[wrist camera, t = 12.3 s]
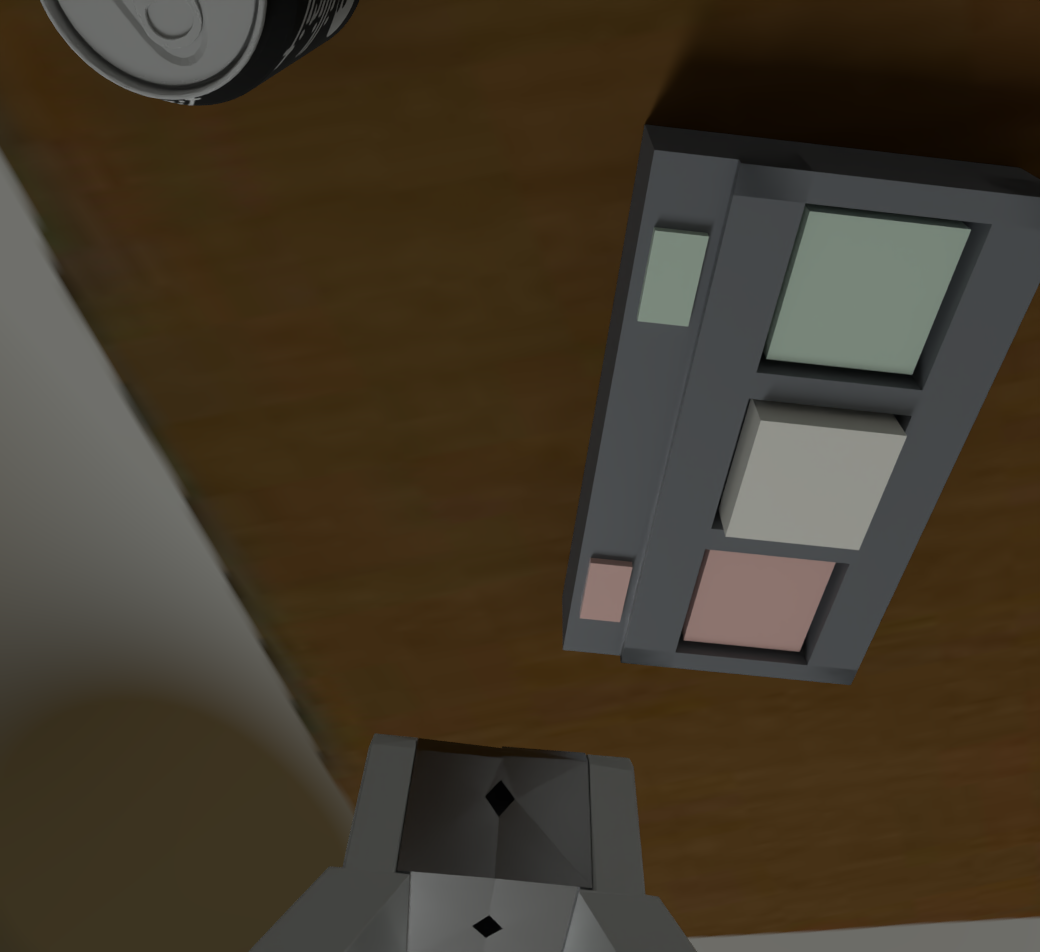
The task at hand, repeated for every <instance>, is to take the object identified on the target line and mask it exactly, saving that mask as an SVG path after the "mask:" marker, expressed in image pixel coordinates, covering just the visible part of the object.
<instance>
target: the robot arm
mask: <svg viewBox="0 0 1040 952" xmlns="http://www.w3.org/2000/svg"><path fill="white" fill-rule="evenodd" d="M248 952H697V951H696V950H695V949H694V947H693V946H692V944H691V943H690V941H689V940H688V938H687V937H686V935H685V934H684V933H683V931H682V930H681V928H680V927H679V925H678V924H677V923H676V921H675V920H674V918H673V917H672V915H671V914H670V913H669V911H668V910H667V908H666V907H665V905H664V904H663V903H662V901H661V900H660V898H659V897H656V896H649V895H645V887H644V876H643V865H642V854H641V843H640V832H639V821H638V810H637V799H636V789H635V778H634V767H633V765H632V763H631V761H630V759H629V758H622V757H610V756H598V755H585V753H578V752H565V751H553V750H541V749H528V748H516V747H503V746H502V748H496V747H488V746H480V745H471V744H463V743H455V742H447V741H438V740H430V739H422V738H419V739H418V738H414V737H404V736H394V735H385V734H374V737H373V739H372V741H371V744H370V746H369V750H368V754H367V759H366V764H365V768H364V773H363V777H362V782H361V786H360V791H359V795H358V800H357V804H356V809H355V813H354V818H353V822H352V827H351V831H350V836H349V840H348V845H347V849H346V854H345V859H344V864H343V867H328V869H326V870H325V872H324V873H323V874H322V875H321V876H320V877H319V878H318V879H317V880H316V881H315V882H314V883H313V884H312V885H311V887H309V888H308V890H306V891H305V893H304V894H303V895H302V896H301V897H300V898H299V899H298V900H297V901H296V902H295V903H294V904H293V905H292V906H291V907H290V908H289V909H288V910H287V911H286V913H285V914H284V915H283V916H282V917H281V918H280V919H279V920H278V921H277V922H276V923H275V924H274V925H273V926H272V928H271V929H269V930H268V931H267V933H266V934H265V935H264V936H263V937H262V938H261V939H260V940H259V941H258V942H257V943H256V944H255V945H254V946H253V948H251V949H250V951H248Z"/></svg>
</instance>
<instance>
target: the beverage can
mask: <svg viewBox="0 0 1040 952" xmlns="http://www.w3.org/2000/svg"><path fill="white" fill-rule="evenodd" d="M40 1H41V3H42V5H43V7H44V9H45V11H46V13H47V15H48V17H49V18H50V20H51V22H52V23H53V25H54V26H55V28H56V29H57V31H58V32H59V33H60V35H61V36H62V37H63V39H64V40H65V41H66V42H67V43H68V45H69V46H70V47H71V48H72V49H73V50H74V51H75V52H76V53H77V54H78V55H79V56H80V57H81V58H82V59H83V60H84V62H85V63H87V64H88V65H89V66H90V67H92V68H93V69H94V70H96V71H97V72H98V73H99V74H101V75H102V76H104V77H105V78H107V79H109V80H110V81H112V82H114V83H115V84H117V85H119V86H121V87H123V88H126V89H128V90H130V91H132V92H135V93H138V94H141V95H144V96H147V97H153V98H158V99H162V100H165V101H169V102H173V103H178V104H184V105H213V104H218V103H222V102H226V101H230V100H232V99H235V98H237V97H239V96H242V95H244V94H245V93H247V92H249V91H250V90H252V89H253V88H255V87H257V86H258V85H260V84H261V83H263V82H264V81H266V80H267V79H269V78H270V77H272V76H273V75H275V74H277V73H278V72H280V71H281V70H283V69H284V68H286V67H287V66H289V65H290V64H292V63H294V62H295V61H297V60H298V59H300V58H301V57H303V56H304V55H306V54H307V53H309V52H310V51H312V50H314V49H315V48H317V47H318V46H320V45H321V44H323V43H324V42H326V41H327V40H329V39H330V38H332V37H333V36H334V35H335V34H337V33H338V32H339V31H340V30H341V29H342V28H343V27H344V25H345V24H346V23H347V22H348V20H349V19H350V17H351V16H352V14H353V12H354V10H355V9H356V7H357V4H358V2H359V0H40Z"/></svg>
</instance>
